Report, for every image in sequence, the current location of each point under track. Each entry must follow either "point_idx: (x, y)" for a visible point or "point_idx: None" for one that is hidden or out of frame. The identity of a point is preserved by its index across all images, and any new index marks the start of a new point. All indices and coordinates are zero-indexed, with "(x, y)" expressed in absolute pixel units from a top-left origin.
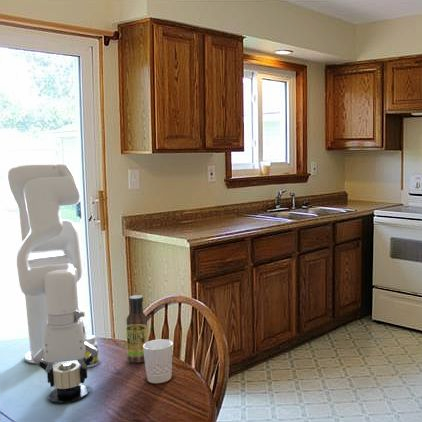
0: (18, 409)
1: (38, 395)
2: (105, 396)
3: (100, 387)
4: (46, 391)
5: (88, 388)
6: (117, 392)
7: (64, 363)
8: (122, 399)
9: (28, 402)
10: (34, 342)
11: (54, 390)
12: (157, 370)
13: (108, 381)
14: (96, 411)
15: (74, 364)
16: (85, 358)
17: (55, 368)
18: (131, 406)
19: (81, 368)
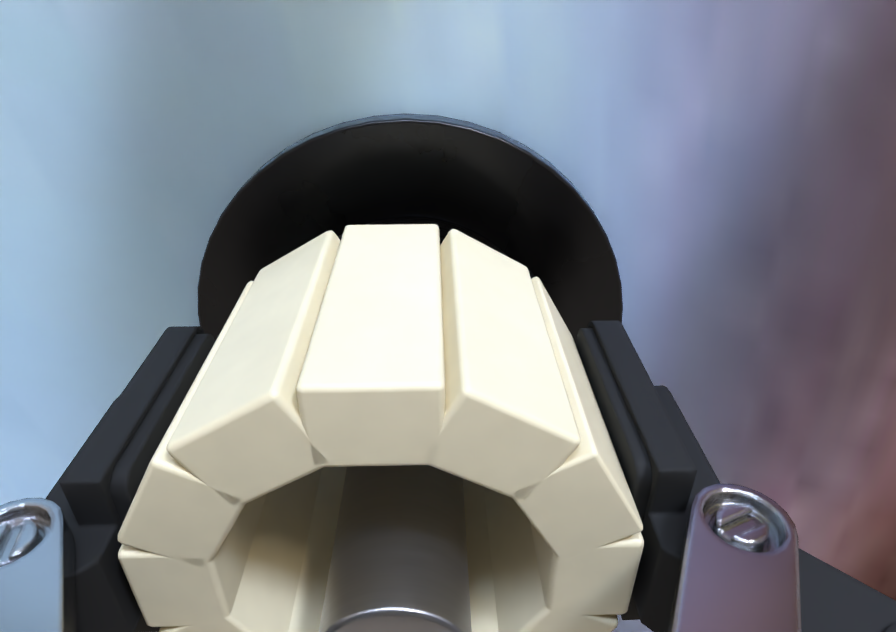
0: (18, 469)
1: (57, 241)
2: (751, 429)
3: (739, 227)
4: (104, 155)
5: (614, 289)
6: (872, 384)
7: (289, 462)
8: (869, 504)
9: (35, 370)
10: None
11: (219, 235)
12: None
13: (867, 72)
14: None
15: (511, 488)
16: (793, 623)
17: (184, 607)
18: (892, 598)
19: (636, 596)
